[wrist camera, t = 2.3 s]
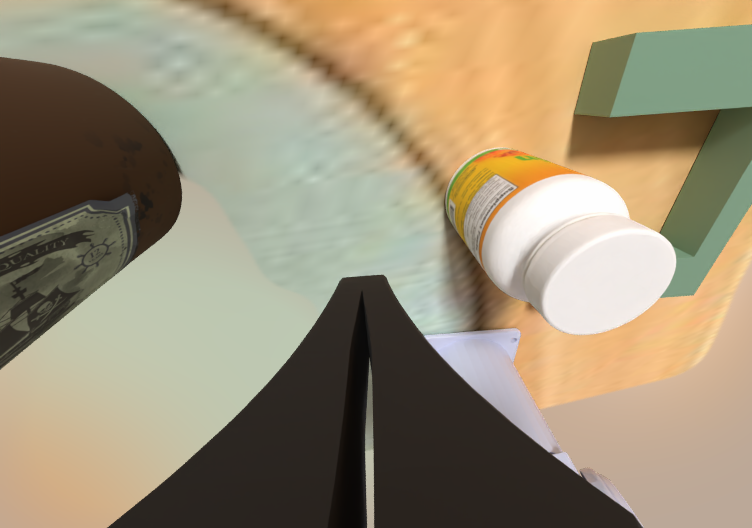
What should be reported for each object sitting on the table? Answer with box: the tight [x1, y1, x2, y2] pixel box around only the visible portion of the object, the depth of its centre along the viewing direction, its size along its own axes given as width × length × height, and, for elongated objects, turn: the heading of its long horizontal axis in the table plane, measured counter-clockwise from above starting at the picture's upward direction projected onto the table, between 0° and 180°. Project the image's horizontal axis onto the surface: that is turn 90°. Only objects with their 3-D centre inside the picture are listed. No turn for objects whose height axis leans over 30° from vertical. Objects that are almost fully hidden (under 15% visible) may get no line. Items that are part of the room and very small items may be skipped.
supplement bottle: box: [445, 148, 676, 335], centre depth 13 cm, size 5×5×10 cm
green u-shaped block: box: [574, 25, 752, 298], centre depth 16 cm, size 14×10×2 cm
